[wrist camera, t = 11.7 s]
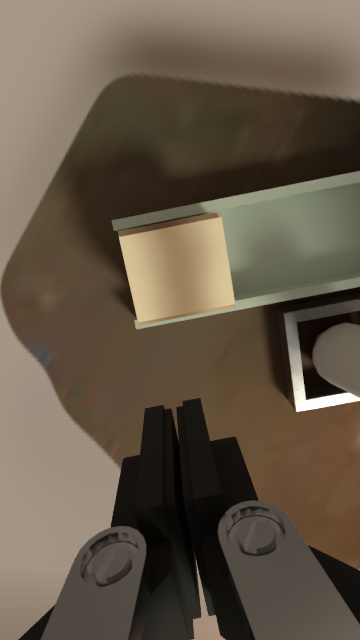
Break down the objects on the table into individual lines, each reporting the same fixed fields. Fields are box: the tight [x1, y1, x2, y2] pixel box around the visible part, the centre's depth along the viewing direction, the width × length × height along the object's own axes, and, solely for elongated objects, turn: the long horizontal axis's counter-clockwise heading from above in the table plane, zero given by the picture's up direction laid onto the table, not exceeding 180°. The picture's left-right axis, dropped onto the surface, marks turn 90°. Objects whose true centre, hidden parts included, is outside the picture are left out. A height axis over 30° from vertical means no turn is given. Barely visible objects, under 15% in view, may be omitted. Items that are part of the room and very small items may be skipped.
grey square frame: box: [276, 292, 360, 412], centre depth 32 cm, size 10×10×2 cm
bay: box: [111, 171, 360, 329], centre depth 29 cm, size 23×9×4 cm, turn 101°
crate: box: [118, 211, 236, 325], centre depth 27 cm, size 7×7×7 cm
